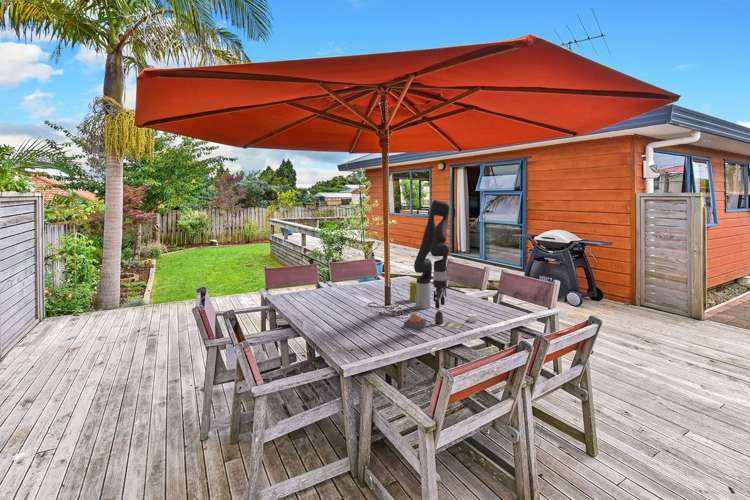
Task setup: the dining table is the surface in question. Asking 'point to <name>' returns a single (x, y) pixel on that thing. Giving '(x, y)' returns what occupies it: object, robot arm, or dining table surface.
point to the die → (472, 318)
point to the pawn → (438, 318)
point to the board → (448, 325)
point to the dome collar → (415, 324)
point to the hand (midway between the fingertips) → (440, 306)
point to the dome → (415, 318)
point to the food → (413, 290)
